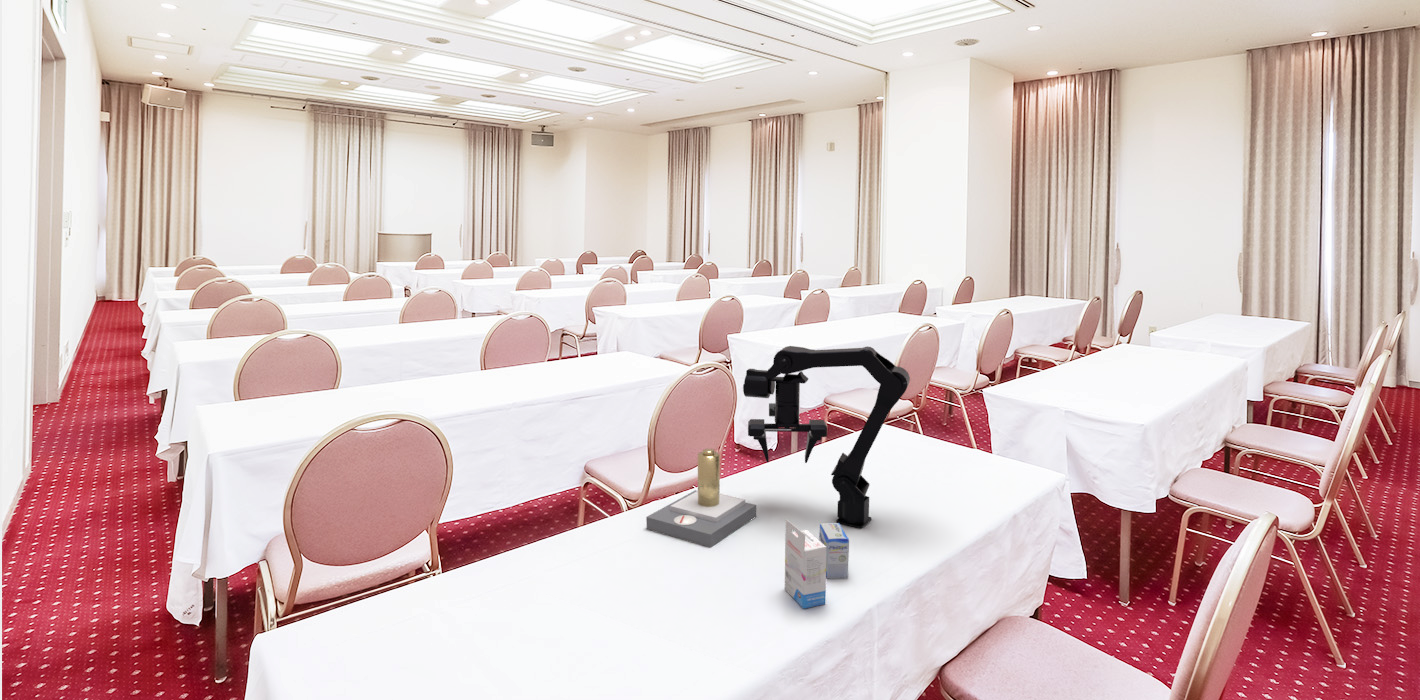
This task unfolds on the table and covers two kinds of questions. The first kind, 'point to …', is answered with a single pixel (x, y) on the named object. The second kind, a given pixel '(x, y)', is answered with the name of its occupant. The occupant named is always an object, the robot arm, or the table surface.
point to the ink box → (805, 567)
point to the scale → (701, 519)
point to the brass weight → (708, 478)
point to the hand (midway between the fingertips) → (786, 462)
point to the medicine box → (835, 550)
